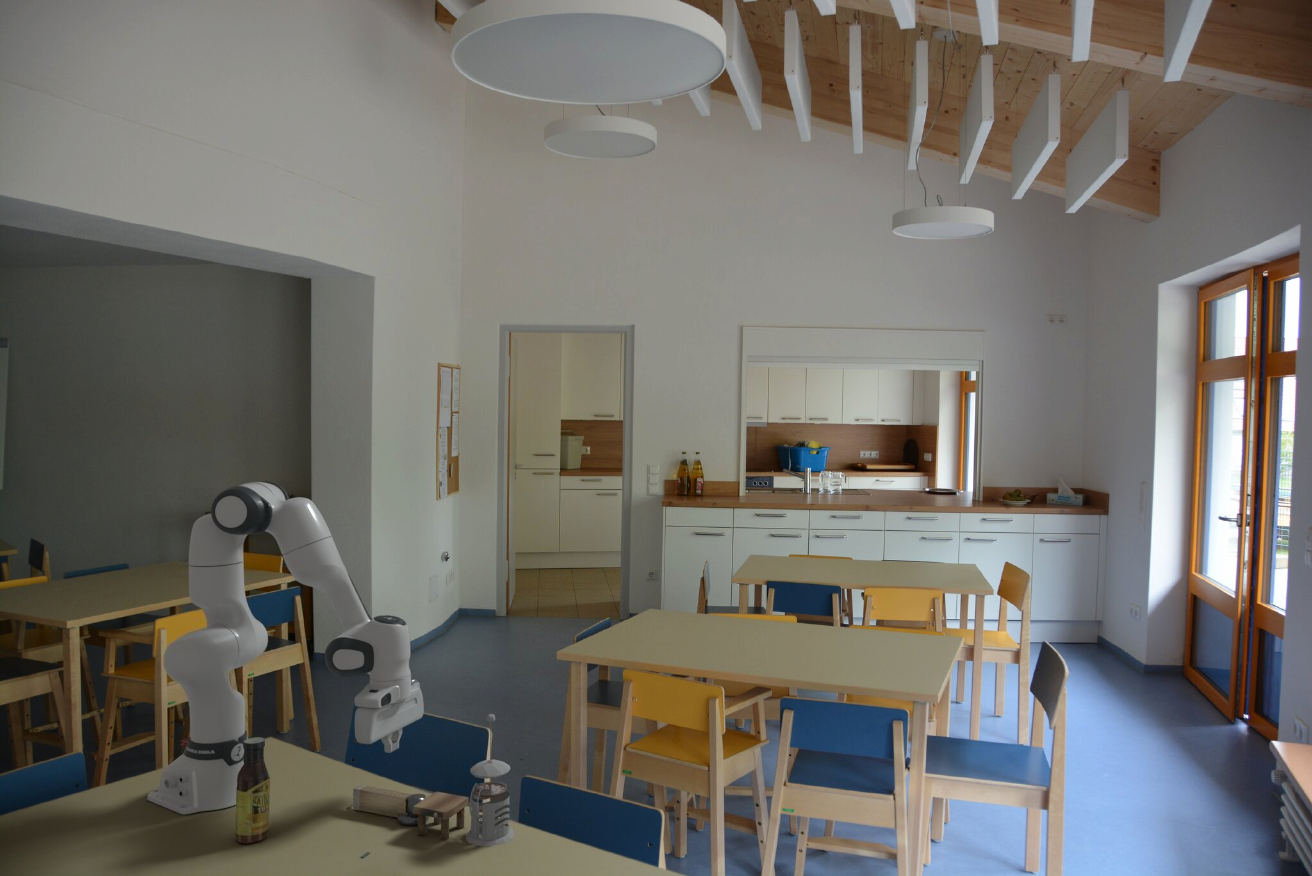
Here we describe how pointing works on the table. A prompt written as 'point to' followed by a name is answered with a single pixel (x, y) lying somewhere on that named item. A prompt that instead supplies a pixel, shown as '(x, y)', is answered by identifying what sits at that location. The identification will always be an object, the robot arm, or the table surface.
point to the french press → (489, 803)
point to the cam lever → (387, 803)
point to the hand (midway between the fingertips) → (391, 750)
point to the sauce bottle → (252, 794)
